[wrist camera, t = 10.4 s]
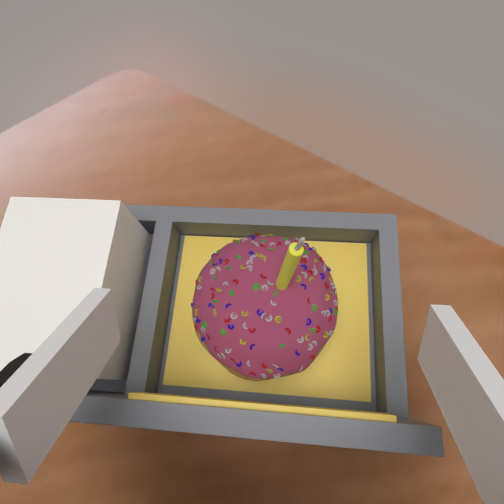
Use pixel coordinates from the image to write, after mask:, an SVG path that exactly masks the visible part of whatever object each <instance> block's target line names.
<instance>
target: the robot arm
mask: <svg viewBox="0 0 504 504" xmlns="http://www.w3.org/2000/svg"><path fill="white" fill-rule="evenodd" d="M120 342H121V338H120V333H119V327H118V322H117V316H116V311H115V305H114V300H113V295H112V289H107V288H94V289H93V290H92V291H91V292H90V293H89V294H88V295H87V296H86V297H85V298H84V299H83V300H82V301H81V302H80V303H79V304H78V306H77V307H76V308H75V309H74V310H73V311H72V312H71V313H70V314H69V315H68V316H67V317H66V318H65V319H64V320H63V322H62V323H61V324H60V325H59V326H58V327H57V328H56V329H55V330H54V331H53V332H52V333H51V334H50V335H49V336H48V337H47V339H46V340H45V341H44V342H43V343H42V344H41V345H40V346H39V347H38V348H37V349H36V350H35V351H34V352H33V353H23V354H22V355H20V356H19V357H17V358H15V359H14V360H12V361H11V362H9V363H8V364H7V365H6V366H5V367H4V368H3V369H2V370H1V371H0V474H1V476H2V478H3V480H4V482H11V483H22V484H29V483H30V481H31V479H32V478H33V476H34V475H35V473H36V472H37V470H38V469H39V467H40V466H41V464H42V462H43V461H44V459H45V458H46V456H47V455H48V453H49V452H50V450H51V448H52V447H53V445H54V444H55V442H56V441H57V439H58V438H59V436H60V435H61V433H62V431H63V430H64V428H65V427H66V425H67V424H68V422H69V421H70V419H71V417H72V416H73V414H74V413H75V411H76V410H77V408H78V407H79V405H80V404H81V402H82V400H83V399H84V397H85V396H86V394H87V393H88V391H89V390H90V388H91V387H92V385H93V383H94V382H95V380H96V379H97V377H98V376H99V374H100V373H101V371H102V369H103V368H104V366H105V365H106V363H107V362H108V360H109V359H110V357H111V356H112V354H113V352H114V351H115V349H116V348H117V346H118V345H119V343H120ZM417 360H418V362H419V364H420V366H421V368H422V371H423V373H424V375H425V377H426V379H427V381H428V384H429V386H430V388H431V390H432V392H433V395H434V397H435V399H436V401H437V403H438V405H439V408H440V410H441V412H442V414H443V416H444V419H445V421H446V423H447V425H448V427H449V429H450V432H451V434H452V436H453V438H454V440H455V443H456V445H457V447H458V449H459V451H460V453H461V456H462V458H463V460H464V462H465V464H466V467H467V469H468V471H469V473H470V475H471V477H472V480H473V482H474V484H475V486H476V488H477V491H478V493H479V495H480V497H481V499H482V501H483V504H504V380H503V378H502V377H501V375H500V374H499V373H498V371H497V370H496V368H495V367H494V366H493V364H492V363H491V361H490V360H489V359H488V357H487V356H486V354H485V353H484V352H483V350H482V349H481V348H480V346H479V345H478V343H477V342H476V341H475V339H474V338H473V336H472V335H471V334H470V332H469V331H468V329H467V328H466V327H465V325H464V324H463V322H462V321H461V320H460V318H459V317H458V315H457V314H456V313H455V311H454V310H453V308H452V307H451V306H450V305H430V308H429V312H428V317H427V321H426V325H425V329H424V333H423V337H422V341H421V345H420V350H419V354H418V358H417Z"/></svg>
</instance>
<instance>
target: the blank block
mask: <svg viewBox="0 0 504 504" xmlns="http://www.w3.org/2000/svg"><path fill="white" fill-rule="evenodd" d="M152 240H153V238H152V236H151V235H150V234H149V233H148V232H147V231H146V229H145V228H144V227H143V226H142V225H141V224H140V222H139V221H138V220H137V219H136V218H135V217H134V215H133V214H132V213H131V212H130V211H129V210H128V208H127V207H126V206H125V205H124V204H123V203H122V201H118V200H90V199H61V198H33V197H11V198H10V201H9V204H8V207H7V210H6V213H5V216H4V219H3V222H2V225H1V228H0V371H1V370H2V369H3V368H4V367H5V366H6V365H7V364H8V363H9V362H11V361H12V360H14V359H15V358H17V357H19V356H20V355H22V354H23V353H33V352H34V351H35V350H36V349H37V348H38V347H39V346H40V345H41V344H42V343H43V342H44V341H45V340H46V339H47V337H48V336H49V335H50V334H51V333H52V332H53V331H54V330H55V329H56V328H57V327H58V326H59V325H60V324H61V323H62V322H63V320H64V319H65V318H66V317H67V316H68V315H69V314H70V313H71V312H72V311H73V310H74V309H75V308H76V307H77V306H78V304H79V303H80V302H81V301H82V300H83V299H84V298H85V297H86V296H87V295H88V294H89V293H90V292H91V291H92V290H93V289H94V288H107V289H112V295H113V300H114V305H115V311H116V316H117V322H118V327H119V333H120V338H121V342H120V343H119V345H118V346H117V348H116V349H115V351H114V352H113V354H112V356H111V357H110V359H109V360H108V362H107V363H106V365H105V366H104V368H103V369H102V371H101V373H100V374H99V376H98V377H97V379H112V380H127V378H128V373H129V367H130V362H131V356H132V351H133V345H134V340H135V334H136V329H137V323H138V318H139V312H140V307H141V301H142V295H143V290H144V284H145V279H146V273H147V268H148V262H149V257H150V251H151V246H152Z"/></svg>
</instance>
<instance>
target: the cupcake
mask: <svg viewBox="0 0 504 504" xmlns="http://www.w3.org/2000/svg"><path fill="white" fill-rule="evenodd" d="M256 234H257V235H256ZM296 239H297V240H296ZM235 240H236V239H233V242H231V243H229V244H227V245H225V246H224V247H222V248H221V249H219V250H217V251H216V253H213V254H212V255H211V259H210V260H209V261H208V263H207V264H206V265H205V266H204V267H203V269H202V270H201V272H200V273H199V276H198V278H197V279H196V286H195V291H194V296H193V303H191V307H192V318H193V324H194V328H195V332H196V334H197V337H198V339H199V341H200V342H201V344H202V345H203V347H204V348H205V349H206V350H207V351H208V352H209V353H210V354H211V355H212V356H213V357H214V358H215V359H216V360H217V361H218V362H219V363H220V364H221V365H222V366H224V367H225V368H226V369H227V370H228V371H229V372H230V373H232V374H234V375H236V376H238V377H240V378H242V379H245V380H250V381H263V380H269V379H274V378H276V379H277V378H279V377H284V376H288V375H292V374H296V373H300V372H302V371H304V370H305V369H307V368H308V367H309V366H310V364H311V363H312V362H313V361H314V360H315V358H316V357H317V356H318V355H319V354H320V352H321V351H322V349H323V348H324V346H325V345H326V343H327V341H328V340H329V338H330V337H331V336H332V335H333V334H334V330H335V327H336V322H337V314H338V298H337V293H336V291H337V289H335V284H334V281H333V279H332V276H331V274H330V271H331V269H330V268H329V267H327V265H326V264H325V261H323V259H322V257H321V256H320V255H319V254H318V253H317V252H316V251H317V250H316V248H315V247H314V246H312V247H309V244H308V243H303V242H304V241H305V237H301V238H300V239H298V238H295V239H294V238H289V237H282V236H273V234H269V235H260V234H258V233H255V234H254V235H250V236H249V237H243V239H240V240H236V241H235ZM306 244H307V245H306ZM314 248H315V249H314ZM328 268H329V269H330V270H329V269H328Z"/></svg>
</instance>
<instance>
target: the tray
mask: <svg viewBox="0 0 504 504" xmlns="http://www.w3.org/2000/svg"><path fill="white" fill-rule="evenodd" d="M125 206H126V207H127V208H128V210H129V211H130V212H131V213H132V214H133V215H134V217H135V218H136V219H137V220H138V221H139V222H140V224H141V225H142V226H143V227H144V228H145V229H146V231H147V232H148V233H149V234H150V235H151V236H152V238H153V240H152V246H151V251H150V257H149V262H148V268H147V273H146V279H145V284H144V290H143V295H142V301H141V307H140V312H139V318H138V323H137V329H136V334H135V340H134V345H133V351H132V356H131V362H130V367H129V373H128V378H127V380H112V379H96V380H95V382H94V383H93V385H92V387H91V388H90V390H89V391H88V393H87V394H86V396H85V397H84V399H83V400H82V402H81V404H80V405H79V407H78V408H77V410H76V411H75V413H74V414H73V416H72V417H71V419H70V421H71V422H82V423H92V424H103V425H113V426H124V427H134V428H145V429H155V430H165V431H176V432H186V433H197V434H207V435H218V436H228V437H239V438H249V439H260V440H270V441H281V442H291V443H301V444H312V445H322V446H333V447H343V448H354V449H364V450H375V451H385V452H396V453H406V454H417V455H427V456H438V457H444V448H443V436H442V427H439V426H435V425H431V424H427V423H423V422H419V421H414V420H410V419H409V409H408V393H407V377H406V361H405V345H404V328H403V312H402V296H401V280H400V264H399V248H398V232H397V216H396V214H372V213H344V212H317V211H289V210H261V209H234V208H206V207H178V206H151V205H125ZM255 233H258V234H260V235H269V234H273V236H282V237H289V238H294V239H295V238H298V239H300V238H301V237H305V241H304V242H303V243H308V244H309V247H312V246H314V247H315V248H316V250H317V251H316V252H317V253H318V254H319V255H320V256H321V257H322V259H323V261H325V264H326V265H327V267H329V268H330V269H331V271H330V274H331V276H332V279H333V281H334V284H335V289H337V291H336V293H337V298H338V314H337V322H336V327H335V330H334V334H333V335H332V336H331V337H330V338H329V340H328V341H327V343H326V345H325V346H324V348H323V349H322V351H321V352H320V354H319V355H318V356H317V357H316V358H315V360H314V361H313V362H312V363H311V364H310V366H309V367H308V368H307V369H305V370H304V371H302V372H300V373H296V374H292V375H288V376H284V377H279V378H277V379H276V378H274V379H269V380H263V381H250V380H245V379H242V378H240V377H238V376H236V375H234V374H232V373H230V372H229V371H228V370H227V369H226V368H225V367H224V366H222V365H221V364H220V363H219V362H218V361H217V360H216V359H215V358H214V357H213V356H212V355H211V354H210V353H209V352H208V351H207V350H206V349H205V348H204V347H203V345H202V344H201V342H200V341H199V339H198V337H197V334H196V332H195V328H194V324H193V318H192V307H191V303H193V296H194V291H195V286H196V279H197V278H198V276H199V273H200V272H201V270H202V269H203V267H204V266H205V265H206V264H207V263H208V261H209V260H210V259H211V255H212V254H213V253H216V251H217V250H219V249H221V248H222V247H224V246H225V245H227V244H229V243H231V242H233V239H236V240H240V239H243V237H249V236H250V235H254V234H255ZM256 235H257V234H256ZM236 240H235V241H236ZM296 240H297V239H296ZM306 245H307V244H306ZM315 248H314V249H315ZM329 268H328V269H329ZM330 269H329V270H330Z"/></svg>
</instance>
